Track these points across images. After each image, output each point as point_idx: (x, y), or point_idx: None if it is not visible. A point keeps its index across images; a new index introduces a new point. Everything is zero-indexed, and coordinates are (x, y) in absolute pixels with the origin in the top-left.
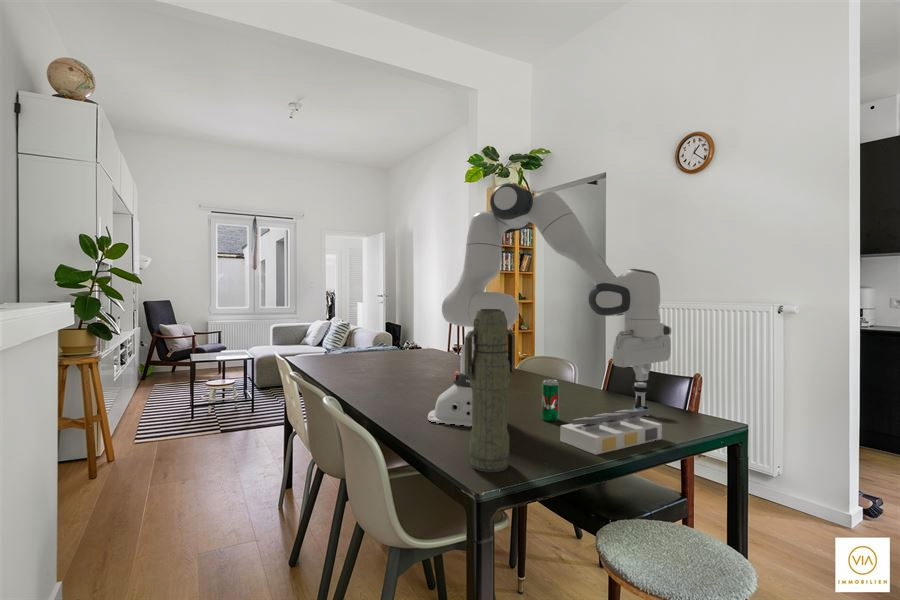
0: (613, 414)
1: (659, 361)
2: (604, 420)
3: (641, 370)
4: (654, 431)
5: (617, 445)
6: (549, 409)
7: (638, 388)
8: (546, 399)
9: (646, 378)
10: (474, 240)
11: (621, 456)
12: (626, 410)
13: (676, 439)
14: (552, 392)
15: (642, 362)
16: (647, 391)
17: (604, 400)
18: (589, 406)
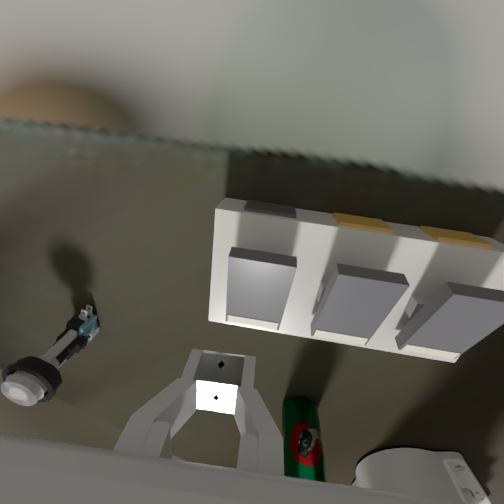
0: (365, 306)
1: (7, 437)
2: (472, 289)
3: (255, 418)
4: (258, 206)
5: (411, 228)
6: (318, 429)
7: (50, 379)
8: (324, 460)
9: (206, 355)
10: None
11: (457, 189)
12: (243, 313)
13: (192, 170)
14: (320, 476)
15: (279, 499)
16: (30, 357)
17: (78, 405)
18: (144, 403)
